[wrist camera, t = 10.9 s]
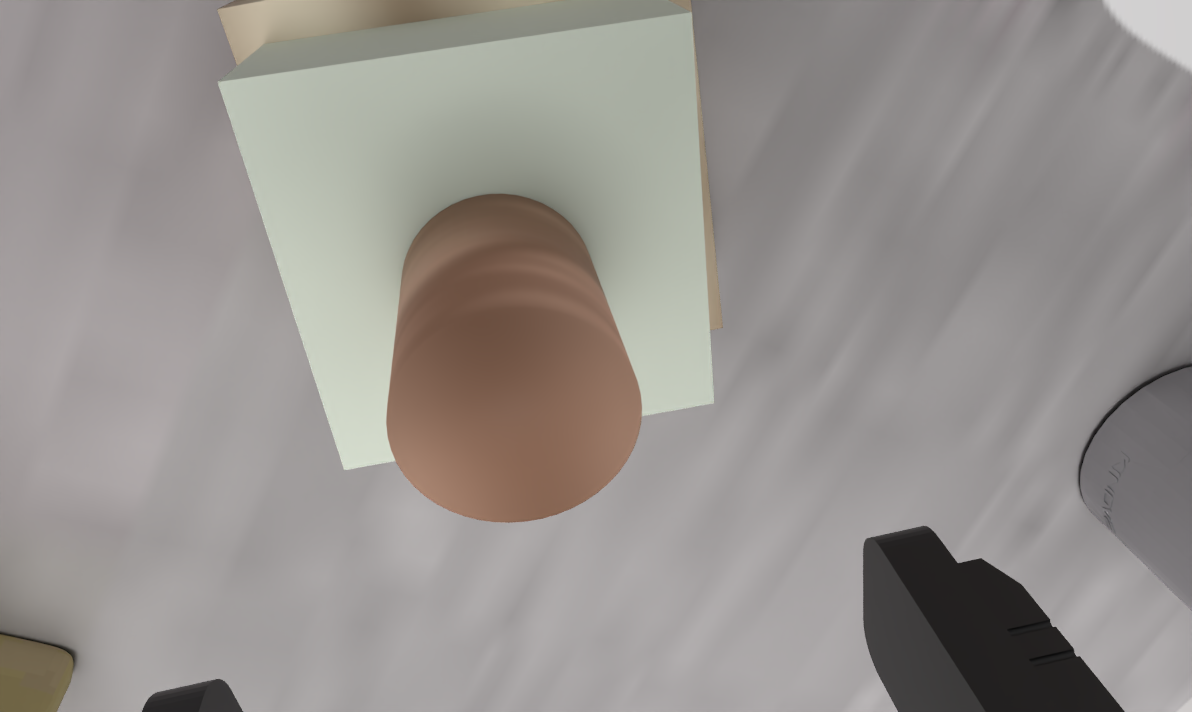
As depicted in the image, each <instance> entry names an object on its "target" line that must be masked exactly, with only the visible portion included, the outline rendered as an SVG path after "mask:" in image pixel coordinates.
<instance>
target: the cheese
mask: <svg viewBox="0 0 1192 712" xmlns="http://www.w3.org/2000/svg"><path fill="white" fill-rule="evenodd" d="M73 665H74V662H73V658H72V656H71V655H70V654H69V653H68V652H66V651H65V650H62V649H60V648H57V647H54V646H50V645H47V644H42V643H38V642H34V641H29V640H25V639H20V638H16V637H11V636H6V635H2V634H0V712H57V710H58V708H59V706H60V703H61V701H62V699H63V697H64V695H65V693H66V691H67V689H68V686H69V684H70V682H71V678H72V673H73Z"/></svg>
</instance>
